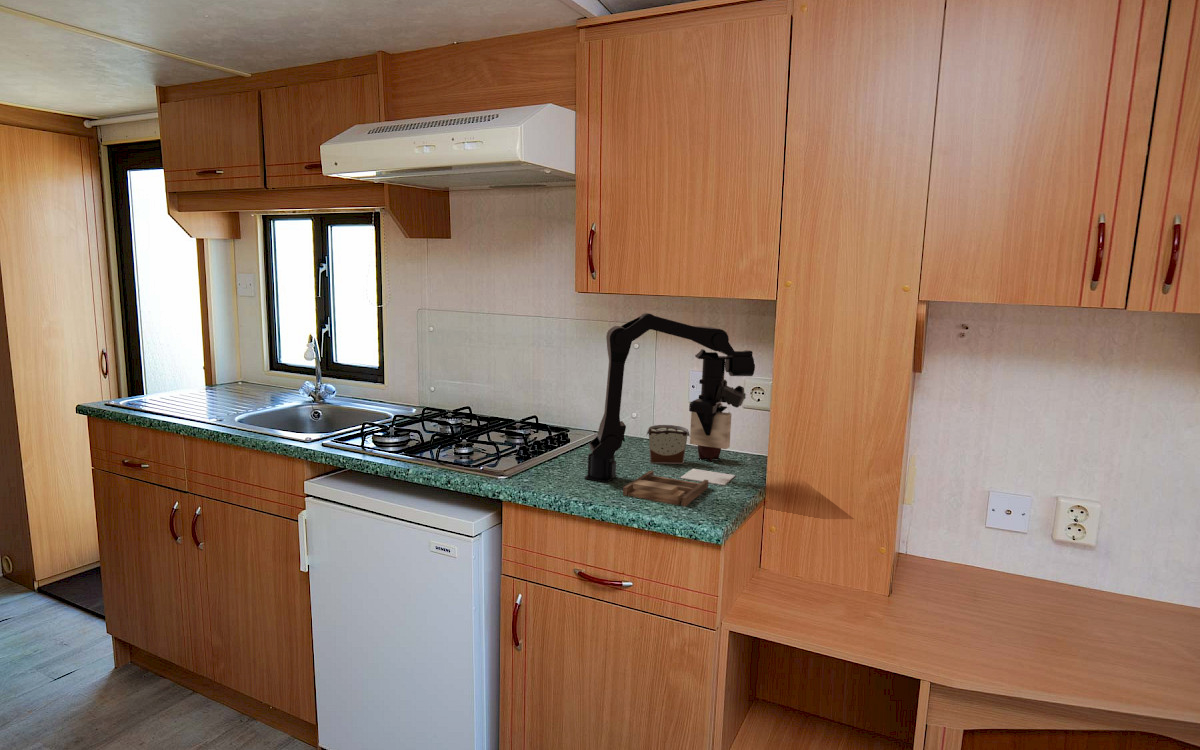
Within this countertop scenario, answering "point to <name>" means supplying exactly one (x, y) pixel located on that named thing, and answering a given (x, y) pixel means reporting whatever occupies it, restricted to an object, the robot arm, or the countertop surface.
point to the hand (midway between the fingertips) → (709, 434)
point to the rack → (688, 487)
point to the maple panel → (718, 432)
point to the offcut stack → (657, 492)
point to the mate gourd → (708, 452)
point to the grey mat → (707, 476)
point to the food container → (667, 443)
